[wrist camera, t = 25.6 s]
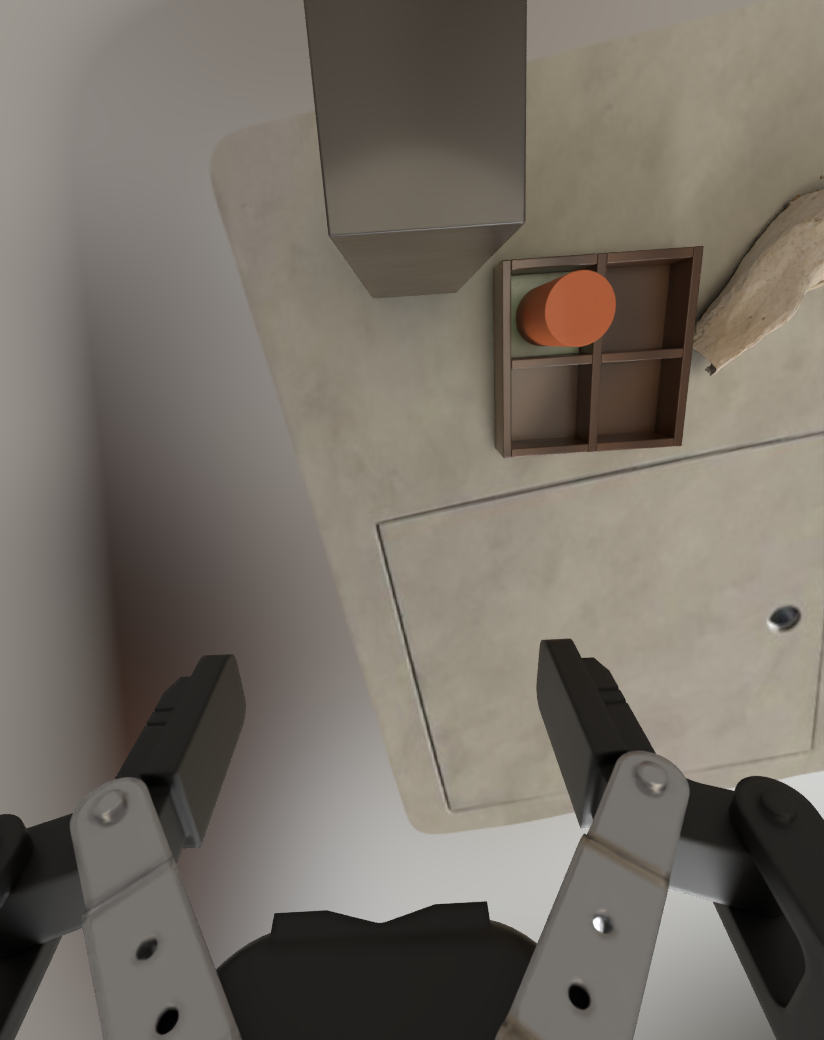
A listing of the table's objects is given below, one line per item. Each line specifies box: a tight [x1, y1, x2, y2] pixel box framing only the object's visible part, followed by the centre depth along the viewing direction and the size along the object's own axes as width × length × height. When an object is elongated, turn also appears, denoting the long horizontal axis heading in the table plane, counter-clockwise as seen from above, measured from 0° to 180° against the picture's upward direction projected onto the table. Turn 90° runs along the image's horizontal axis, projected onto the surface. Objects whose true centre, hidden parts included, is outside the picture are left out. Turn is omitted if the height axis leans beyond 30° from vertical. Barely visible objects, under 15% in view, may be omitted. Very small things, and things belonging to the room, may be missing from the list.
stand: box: [304, 0, 527, 298], centre depth 25 cm, size 6×6×22 cm
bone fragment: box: [692, 176, 824, 376], centre depth 34 cm, size 14×6×5 cm, turn 133°
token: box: [516, 270, 616, 347], centre depth 32 cm, size 4×4×8 cm
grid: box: [493, 246, 703, 458], centre depth 36 cm, size 13×13×4 cm
